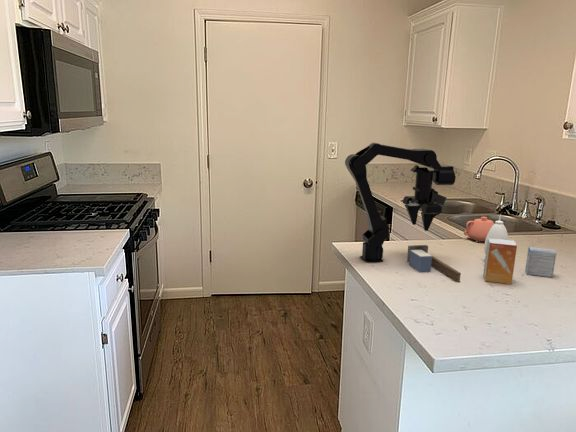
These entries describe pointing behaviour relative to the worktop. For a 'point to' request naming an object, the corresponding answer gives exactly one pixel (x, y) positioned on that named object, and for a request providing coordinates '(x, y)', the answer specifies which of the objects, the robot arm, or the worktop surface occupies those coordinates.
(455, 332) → the worktop surface
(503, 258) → the small box
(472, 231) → the sugar bowl
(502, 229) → the sauce bottle
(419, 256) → the boxed book
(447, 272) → the book rack
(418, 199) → the robot arm
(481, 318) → the worktop surface
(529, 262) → the medicine box
